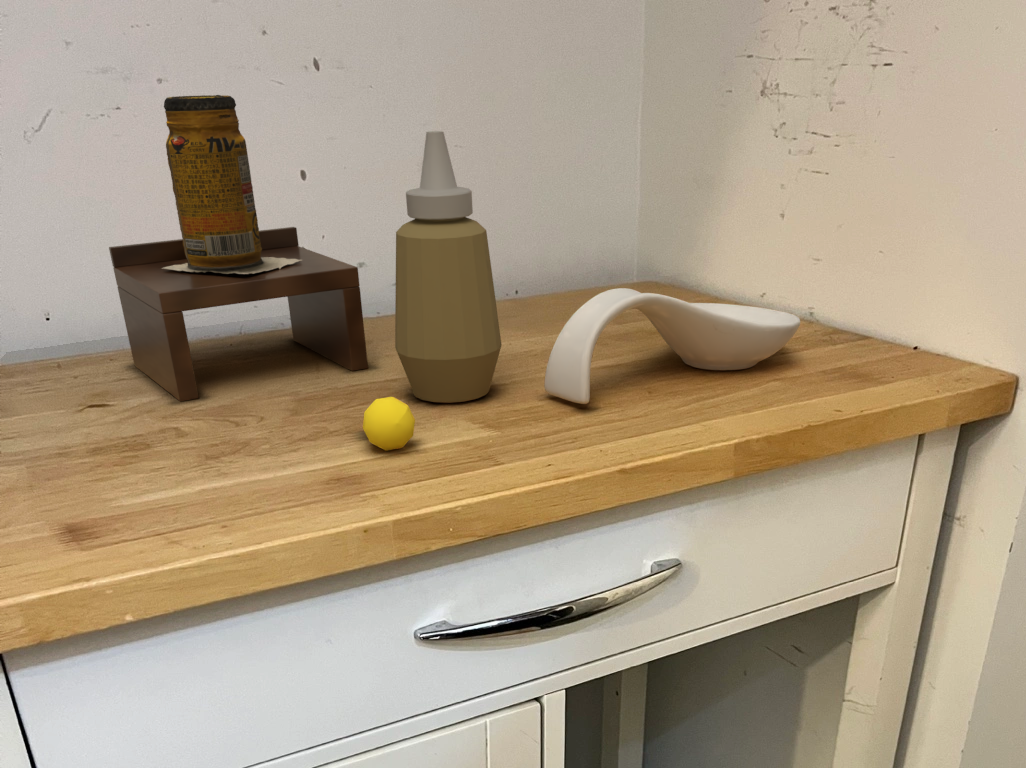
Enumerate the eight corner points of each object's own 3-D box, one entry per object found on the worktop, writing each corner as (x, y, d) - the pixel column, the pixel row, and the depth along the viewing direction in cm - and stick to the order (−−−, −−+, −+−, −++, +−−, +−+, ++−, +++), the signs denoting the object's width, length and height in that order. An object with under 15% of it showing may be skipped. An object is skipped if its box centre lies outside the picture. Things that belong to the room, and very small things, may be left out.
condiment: (222, 255, 93) (195, 93, 86) (303, 262, 89) (281, 93, 83) (161, 271, 87) (128, 99, 81) (245, 278, 84) (217, 99, 77)
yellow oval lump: (388, 460, 72) (362, 409, 71) (362, 459, 77) (338, 412, 76) (430, 436, 73) (406, 386, 71) (402, 436, 78) (379, 390, 77)
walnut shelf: (180, 401, 84) (154, 271, 79) (134, 365, 94) (108, 247, 89) (368, 368, 92) (356, 246, 86) (308, 338, 101) (294, 226, 96)
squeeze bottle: (418, 415, 80) (395, 139, 70) (386, 387, 86) (362, 131, 77) (519, 400, 83) (511, 132, 73) (481, 374, 89) (469, 124, 79)
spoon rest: (718, 337, 98) (724, 251, 94) (825, 361, 91) (835, 269, 87) (515, 389, 85) (512, 292, 82) (619, 422, 78) (621, 318, 74)
